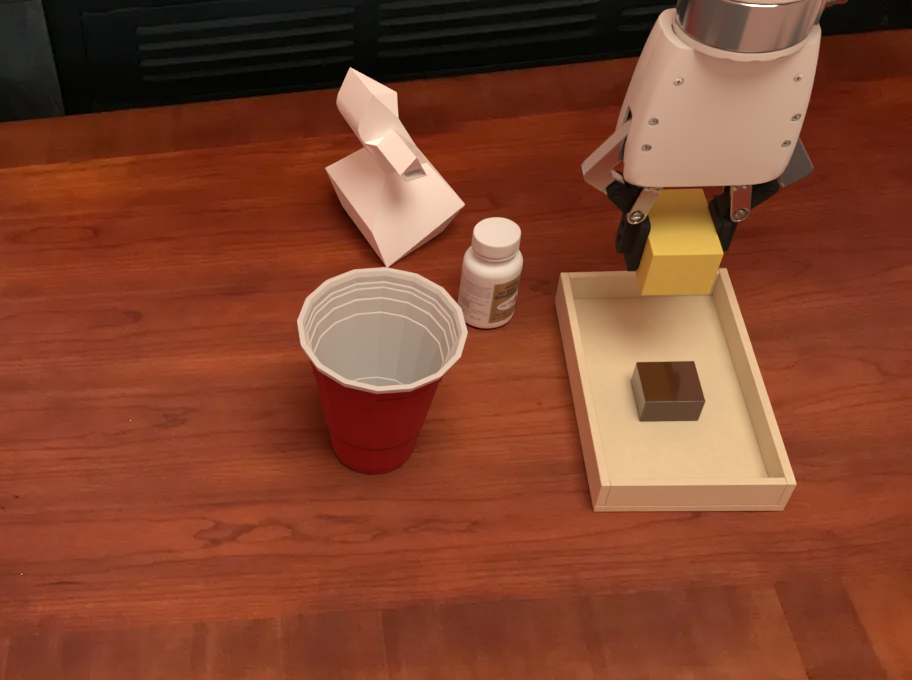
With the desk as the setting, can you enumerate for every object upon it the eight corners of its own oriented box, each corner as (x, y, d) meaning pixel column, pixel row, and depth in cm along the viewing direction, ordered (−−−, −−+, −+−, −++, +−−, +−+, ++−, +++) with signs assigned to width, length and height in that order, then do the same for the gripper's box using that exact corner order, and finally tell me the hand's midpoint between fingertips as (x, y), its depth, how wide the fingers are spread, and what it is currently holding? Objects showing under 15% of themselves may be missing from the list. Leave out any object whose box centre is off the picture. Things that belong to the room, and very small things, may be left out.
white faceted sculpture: (398, 160, 102) (408, 12, 91) (473, 252, 94) (492, 100, 83) (311, 186, 101) (310, 39, 90) (378, 281, 93) (386, 131, 82)
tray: (716, 296, 88) (726, 267, 86) (783, 511, 76) (797, 484, 73) (554, 300, 90) (560, 272, 88) (593, 512, 77) (601, 485, 75)
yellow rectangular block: (689, 229, 82) (702, 188, 79) (709, 294, 78) (724, 253, 75) (624, 230, 82) (635, 189, 80) (640, 295, 78) (653, 254, 75)
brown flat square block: (687, 380, 83) (694, 360, 81) (698, 421, 80) (706, 401, 79) (630, 381, 83) (636, 361, 81) (639, 422, 81) (645, 402, 79)
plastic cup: (369, 530, 78) (376, 409, 68) (269, 441, 84) (262, 318, 74) (484, 451, 81) (505, 325, 72) (380, 370, 87) (387, 243, 77)
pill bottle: (503, 336, 88) (516, 256, 82) (448, 321, 89) (458, 241, 83) (521, 301, 90) (536, 220, 84) (468, 287, 92) (479, 206, 85)
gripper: (884, -36, 67) (780, 221, 81) (586, -24, 68) (536, 226, 83) (925, 32, 62) (807, 292, 77) (605, 44, 64) (549, 296, 78)
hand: (667, 255), depth 80 cm, fingers closed on yellow rectangular block, 4 cm apart
